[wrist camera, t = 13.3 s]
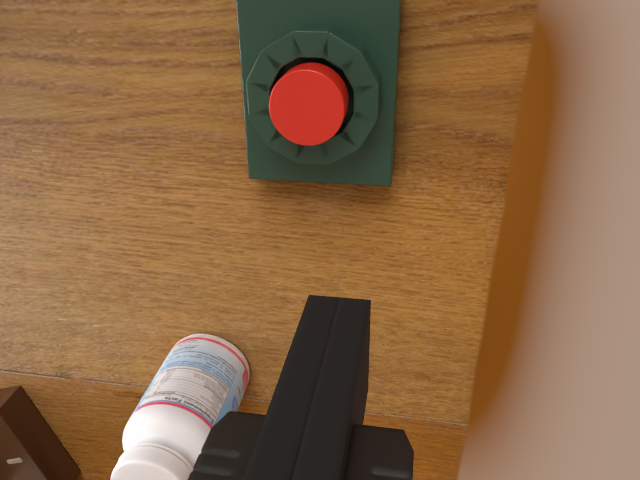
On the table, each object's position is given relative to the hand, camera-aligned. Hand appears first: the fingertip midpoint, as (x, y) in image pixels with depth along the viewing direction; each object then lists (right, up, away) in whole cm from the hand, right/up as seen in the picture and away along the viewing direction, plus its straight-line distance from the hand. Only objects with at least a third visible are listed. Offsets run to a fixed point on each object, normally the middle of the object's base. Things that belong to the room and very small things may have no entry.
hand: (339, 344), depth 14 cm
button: (-1, +9, +14) cm, 17 cm away
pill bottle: (-8, -6, +28) cm, 30 cm away
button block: (0, +11, +17) cm, 21 cm away
